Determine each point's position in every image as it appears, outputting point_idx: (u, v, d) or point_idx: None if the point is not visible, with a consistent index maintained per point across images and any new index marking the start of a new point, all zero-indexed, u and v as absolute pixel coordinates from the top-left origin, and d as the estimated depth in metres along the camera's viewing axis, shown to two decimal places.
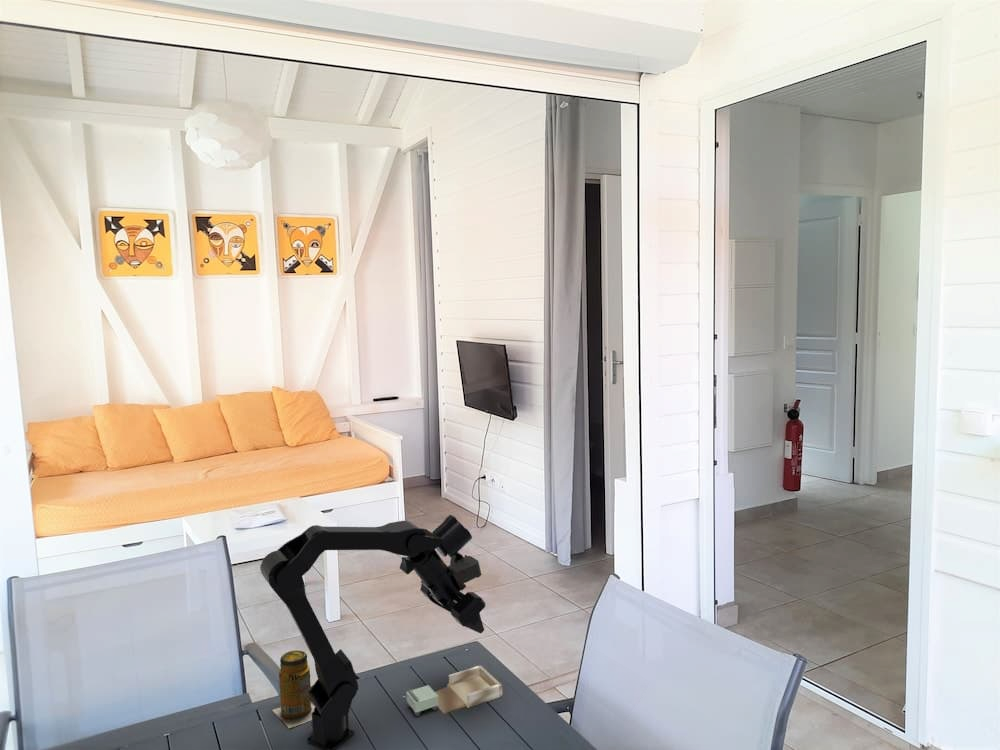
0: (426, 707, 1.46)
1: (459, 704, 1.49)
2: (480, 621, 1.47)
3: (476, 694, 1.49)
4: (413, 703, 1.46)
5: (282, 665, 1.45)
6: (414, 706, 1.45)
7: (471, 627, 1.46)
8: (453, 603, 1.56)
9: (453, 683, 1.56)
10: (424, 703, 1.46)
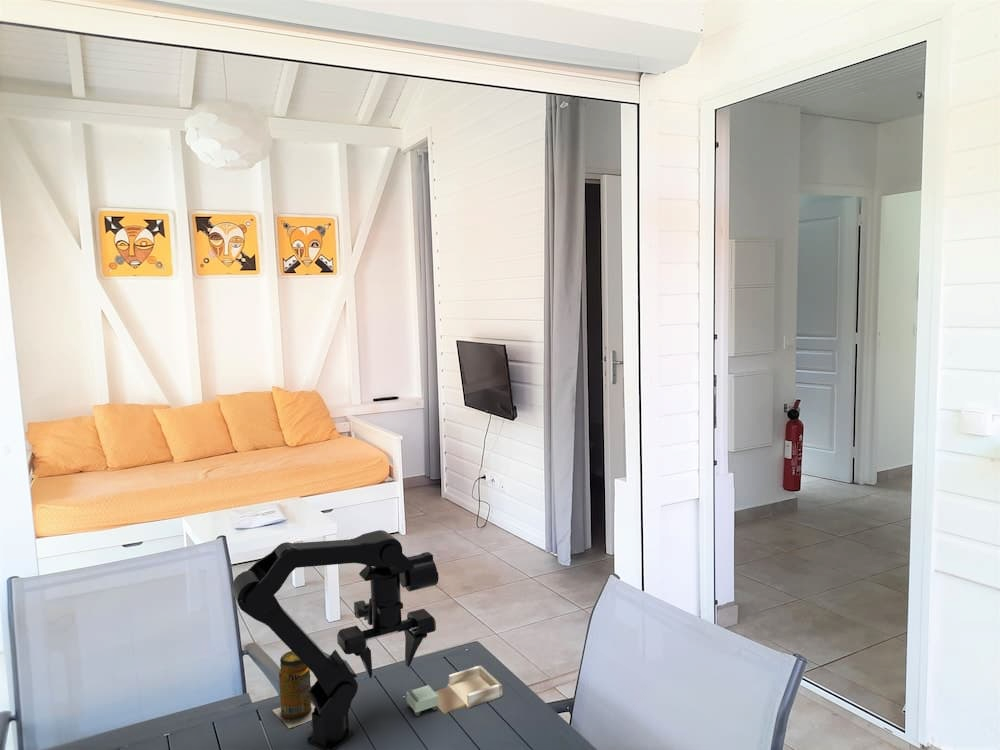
0: (426, 707, 1.46)
1: (459, 704, 1.49)
2: None
3: (476, 694, 1.49)
4: (413, 703, 1.46)
5: (282, 665, 1.45)
6: (414, 706, 1.45)
7: None
8: None
9: (453, 683, 1.56)
10: (424, 703, 1.46)
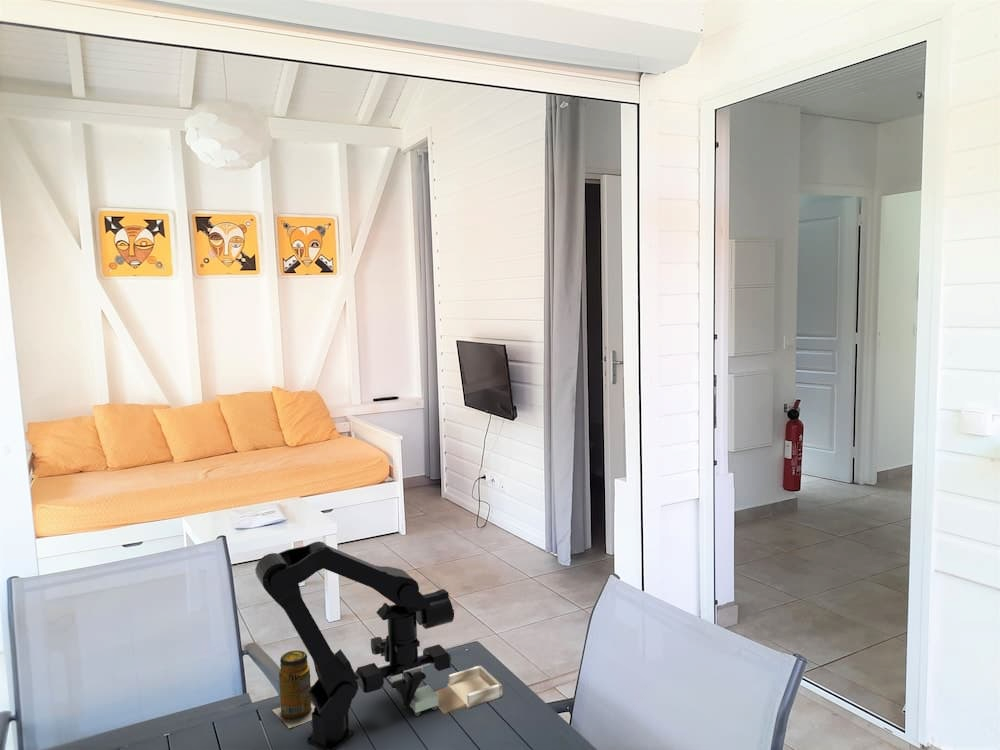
0: (426, 707, 1.46)
1: (459, 704, 1.49)
2: None
3: (476, 694, 1.49)
4: (413, 703, 1.46)
5: (282, 665, 1.45)
6: (414, 707, 1.45)
7: None
8: None
9: (453, 683, 1.56)
10: (424, 703, 1.46)
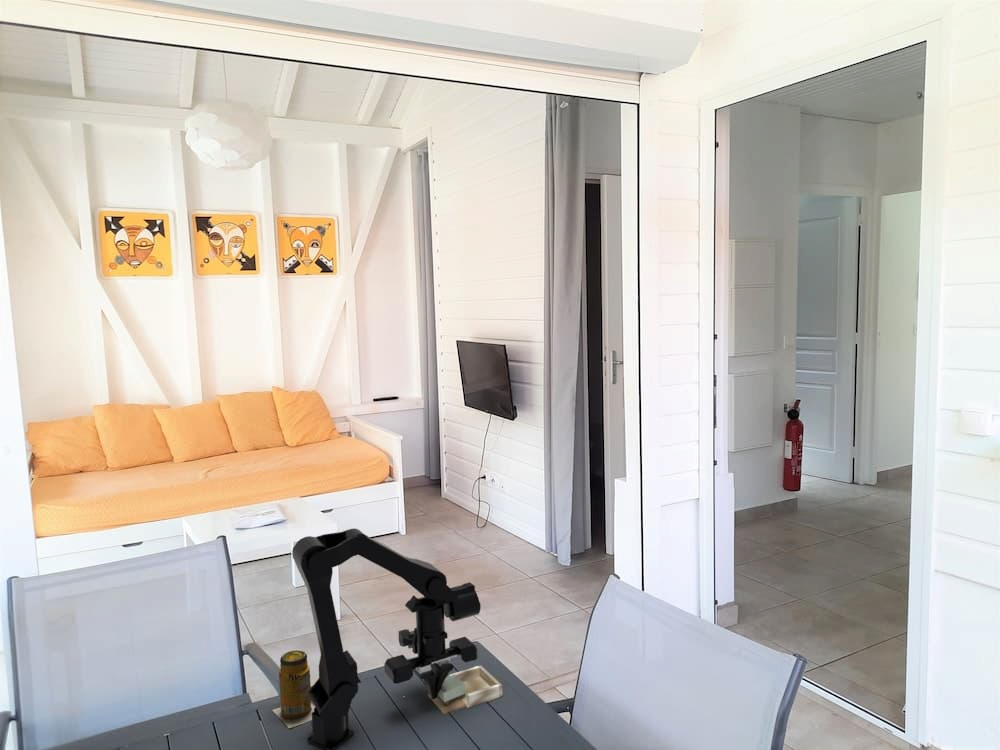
0: (454, 696, 1.49)
1: (459, 704, 1.49)
2: None
3: (476, 694, 1.49)
4: (441, 693, 1.49)
5: (282, 665, 1.45)
6: (442, 696, 1.48)
7: None
8: None
9: None
10: (452, 692, 1.49)
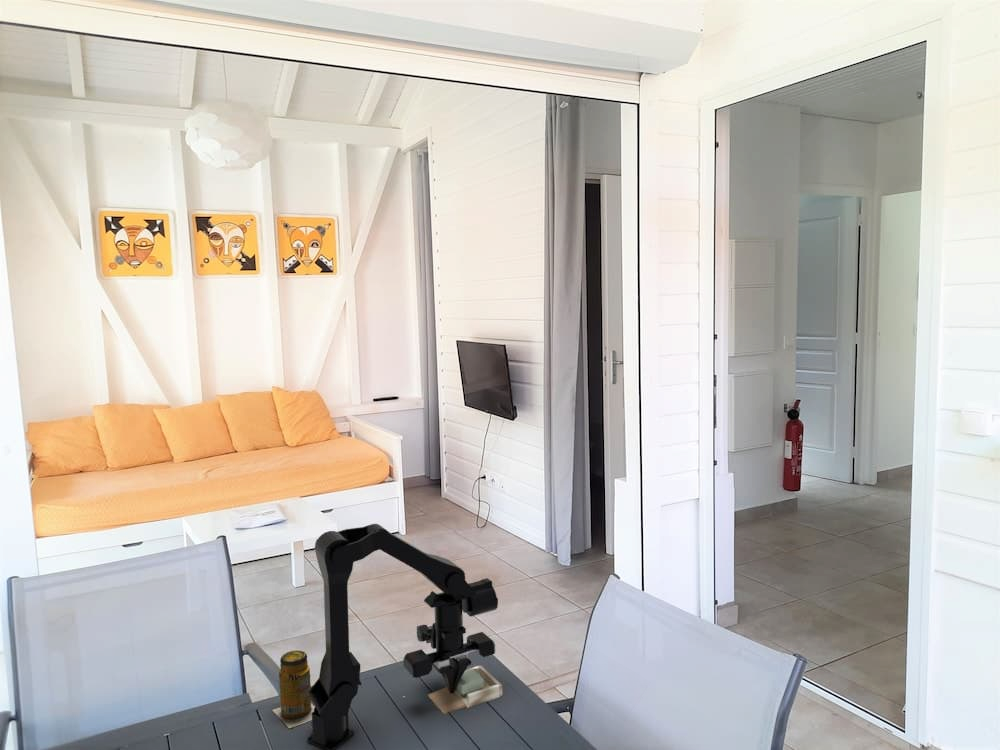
0: (472, 689, 1.51)
1: (459, 704, 1.49)
2: None
3: (476, 694, 1.49)
4: (459, 685, 1.51)
5: (282, 665, 1.45)
6: (461, 689, 1.50)
7: None
8: None
9: None
10: (470, 685, 1.51)
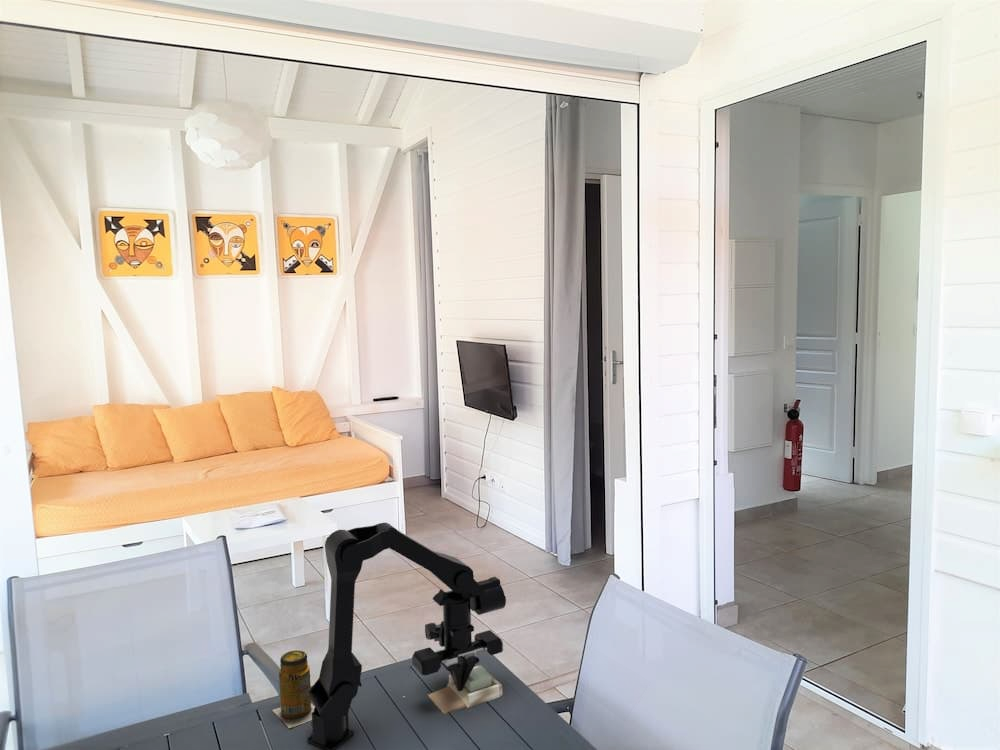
0: (480, 687, 1.52)
1: (459, 704, 1.49)
2: None
3: (476, 694, 1.49)
4: (467, 683, 1.52)
5: (282, 665, 1.45)
6: (469, 686, 1.51)
7: None
8: None
9: (453, 683, 1.56)
10: (478, 683, 1.52)
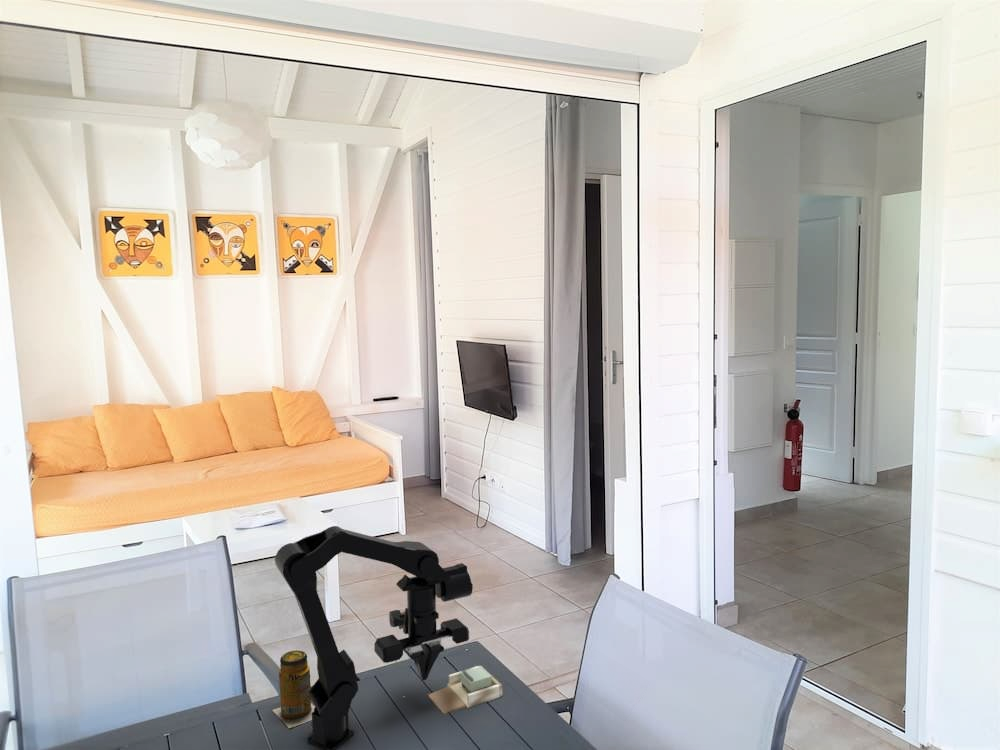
0: (480, 687, 1.52)
1: (459, 704, 1.49)
2: None
3: (476, 694, 1.49)
4: (468, 683, 1.52)
5: (282, 665, 1.45)
6: (469, 686, 1.51)
7: None
8: None
9: (453, 683, 1.56)
10: (478, 683, 1.52)
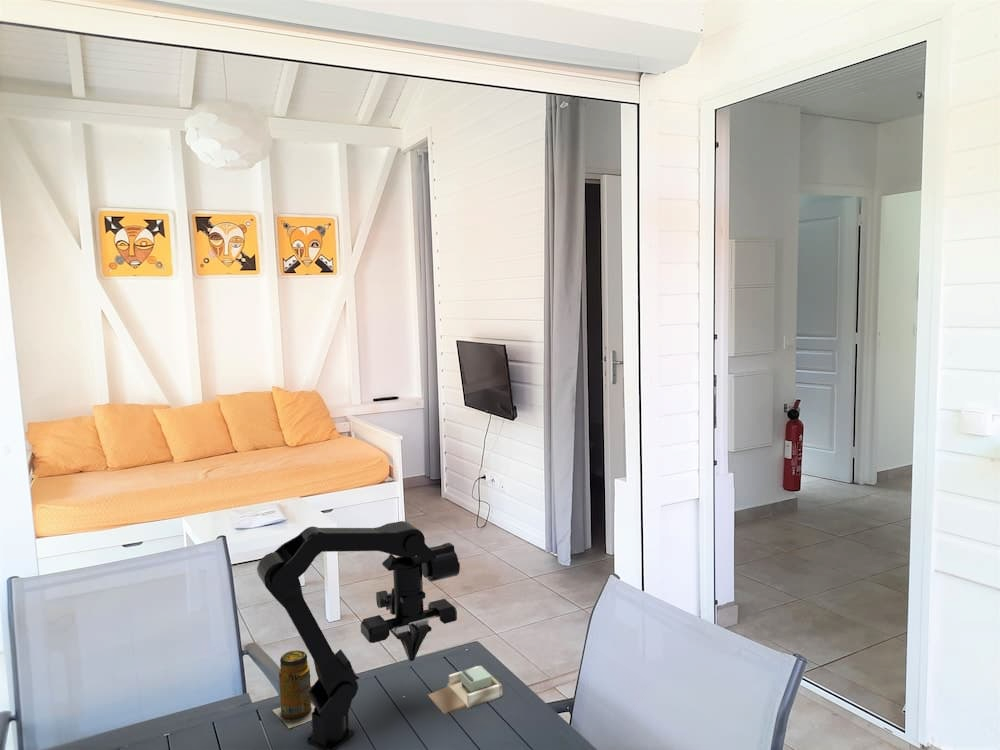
0: (480, 687, 1.52)
1: (459, 704, 1.49)
2: None
3: (476, 694, 1.49)
4: (468, 683, 1.52)
5: (282, 665, 1.45)
6: (469, 686, 1.51)
7: None
8: None
9: (453, 683, 1.56)
10: (478, 683, 1.52)
